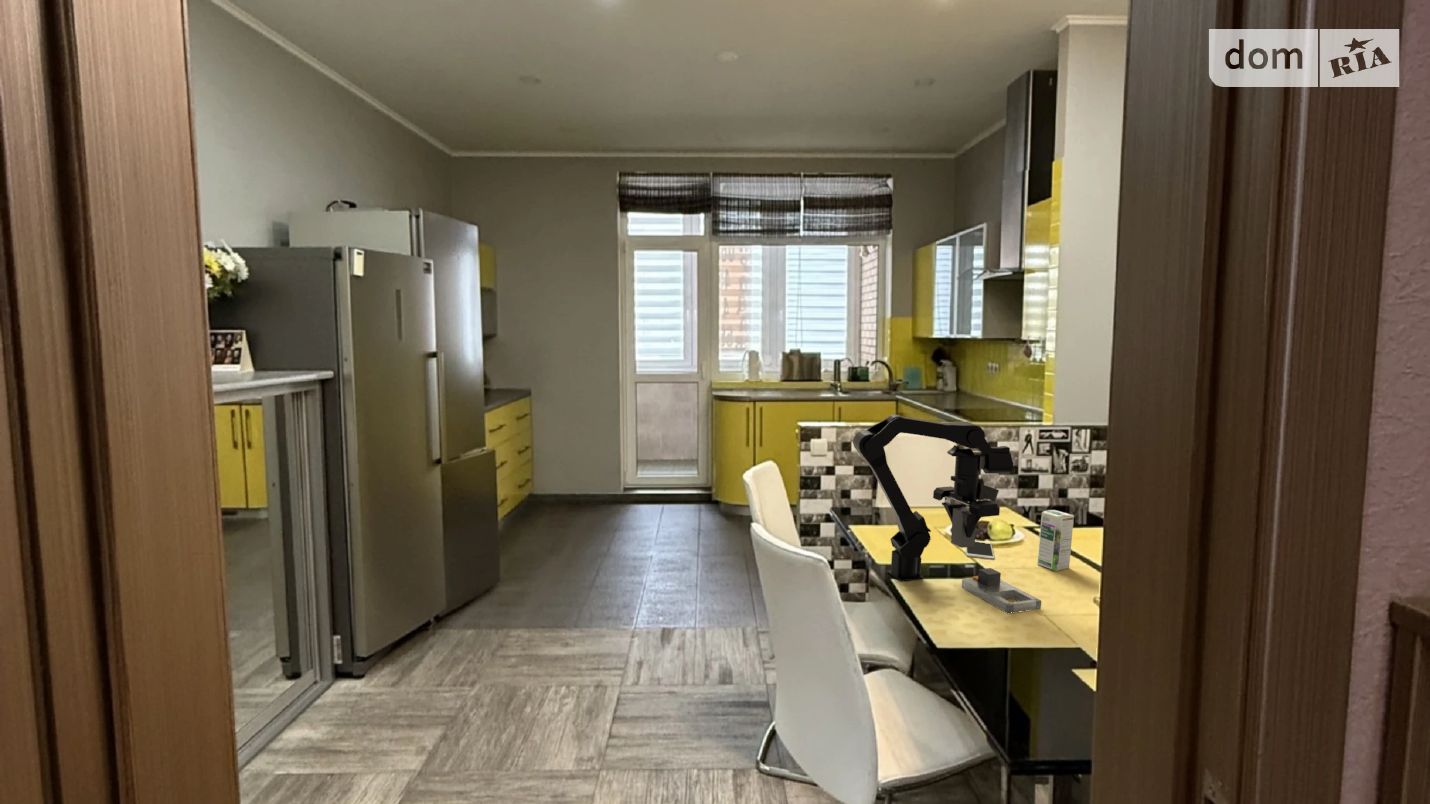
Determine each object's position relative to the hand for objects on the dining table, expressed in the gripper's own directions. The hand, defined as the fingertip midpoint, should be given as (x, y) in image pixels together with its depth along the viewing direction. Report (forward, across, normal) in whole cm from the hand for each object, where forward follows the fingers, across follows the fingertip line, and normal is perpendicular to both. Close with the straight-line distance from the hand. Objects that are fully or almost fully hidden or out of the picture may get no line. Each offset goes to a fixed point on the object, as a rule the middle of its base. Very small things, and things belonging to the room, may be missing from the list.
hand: (963, 534), depth 183 cm
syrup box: (+11, -1, -28) cm, 30 cm away
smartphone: (+11, +16, -18) cm, 27 cm away
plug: (+3, 0, 0) cm, 3 cm away
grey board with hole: (+11, -14, 0) cm, 18 cm away
